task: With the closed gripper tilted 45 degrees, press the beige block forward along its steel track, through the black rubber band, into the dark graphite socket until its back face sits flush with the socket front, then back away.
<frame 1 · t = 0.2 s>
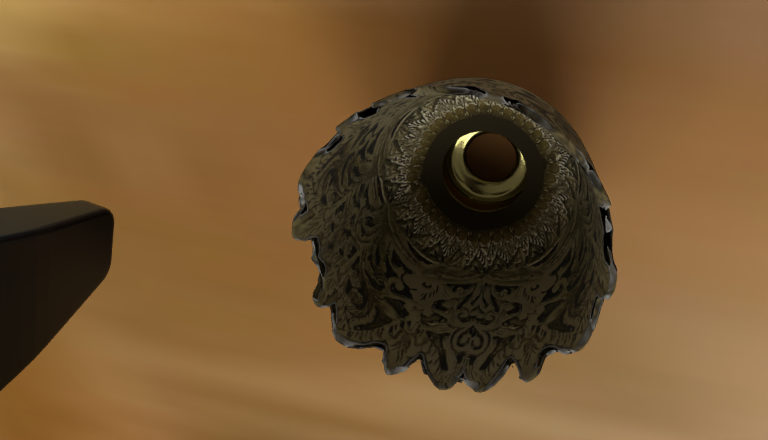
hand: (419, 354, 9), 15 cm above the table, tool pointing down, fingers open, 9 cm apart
cup: (491, 154, 23), on the table
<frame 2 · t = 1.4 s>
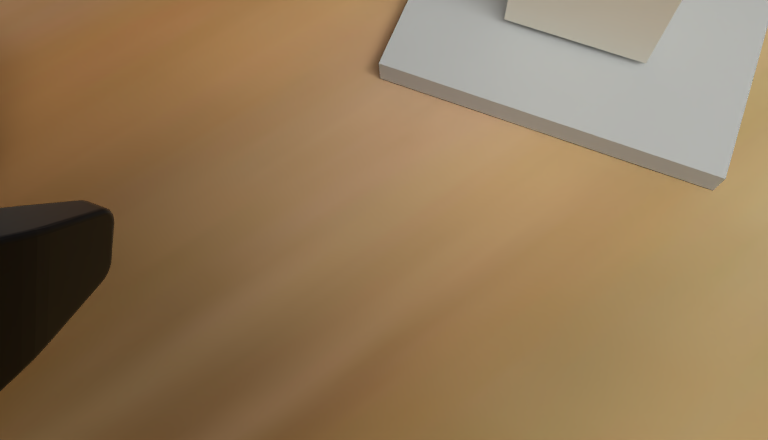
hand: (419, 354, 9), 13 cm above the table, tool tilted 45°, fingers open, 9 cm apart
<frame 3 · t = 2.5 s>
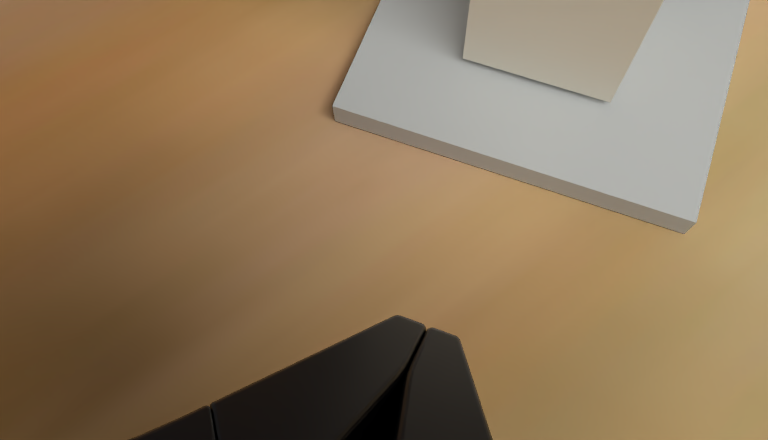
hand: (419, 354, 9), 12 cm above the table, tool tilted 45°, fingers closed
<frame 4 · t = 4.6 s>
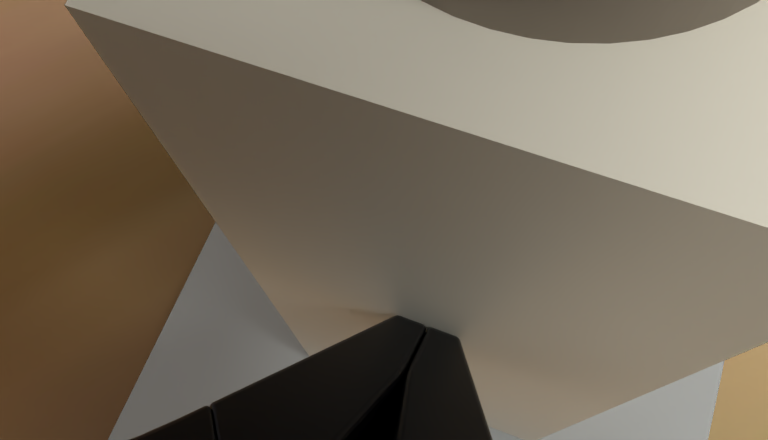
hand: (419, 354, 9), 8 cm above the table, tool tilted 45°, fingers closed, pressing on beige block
socket: (514, 130, 19), on the table
beige block: (486, 166, 10), point 8 cm above the table, slide at 1.4 cm, touching gripper
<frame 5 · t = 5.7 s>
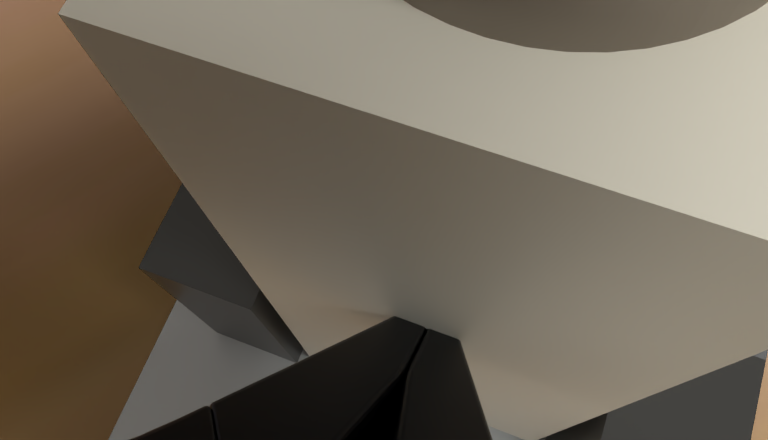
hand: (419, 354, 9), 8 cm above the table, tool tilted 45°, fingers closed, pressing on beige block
socket: (456, 294, 17), on the table
beige block: (485, 168, 10), point 8 cm above the table, slide at 6.2 cm, touching gripper
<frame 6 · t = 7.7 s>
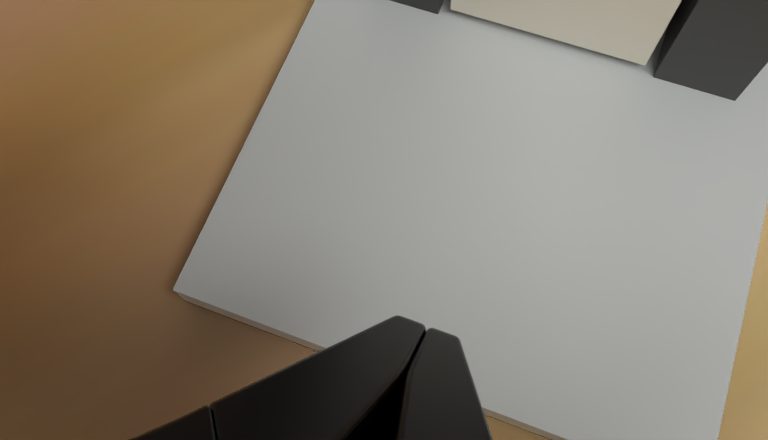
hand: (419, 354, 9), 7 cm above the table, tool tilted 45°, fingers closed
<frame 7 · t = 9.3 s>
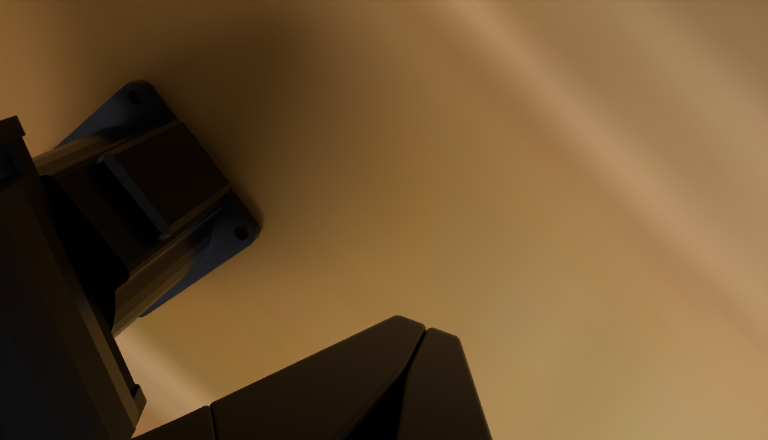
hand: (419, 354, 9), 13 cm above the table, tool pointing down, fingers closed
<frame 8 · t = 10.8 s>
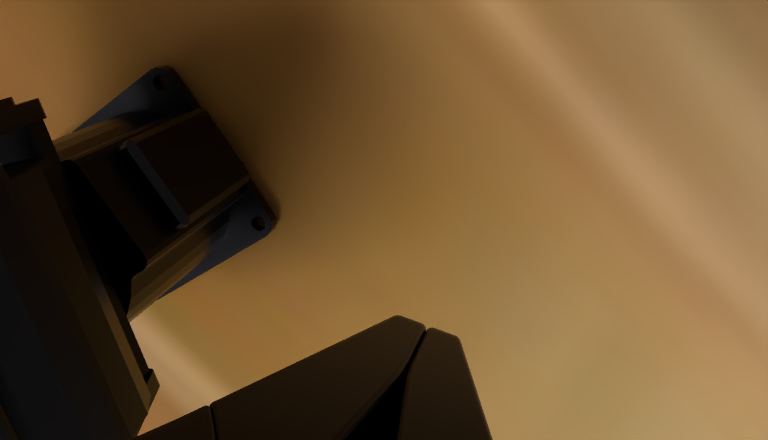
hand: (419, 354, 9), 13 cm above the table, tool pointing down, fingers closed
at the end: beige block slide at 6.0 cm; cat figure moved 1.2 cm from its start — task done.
